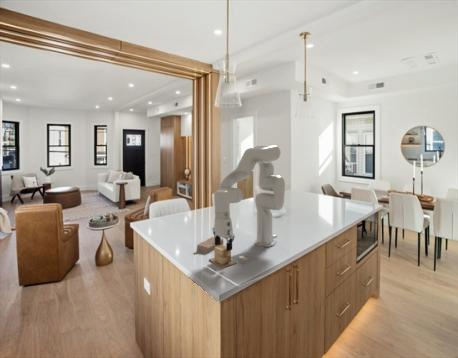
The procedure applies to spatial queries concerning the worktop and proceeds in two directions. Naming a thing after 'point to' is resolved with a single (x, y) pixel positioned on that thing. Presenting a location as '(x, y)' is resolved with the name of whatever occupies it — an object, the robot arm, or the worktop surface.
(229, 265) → the walnut board
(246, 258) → the pad
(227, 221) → the robot arm
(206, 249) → the brick
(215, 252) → the oak block
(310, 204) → the worktop surface
